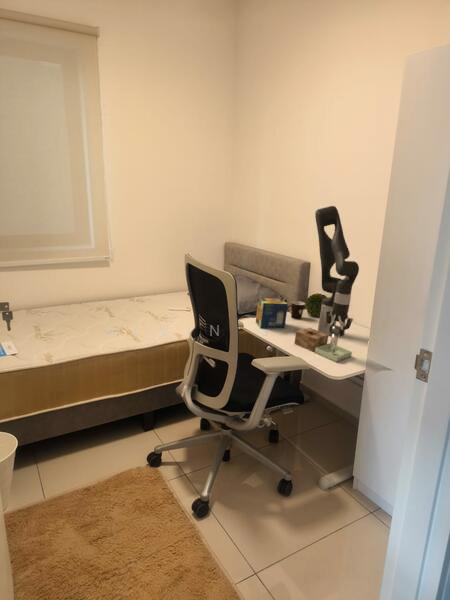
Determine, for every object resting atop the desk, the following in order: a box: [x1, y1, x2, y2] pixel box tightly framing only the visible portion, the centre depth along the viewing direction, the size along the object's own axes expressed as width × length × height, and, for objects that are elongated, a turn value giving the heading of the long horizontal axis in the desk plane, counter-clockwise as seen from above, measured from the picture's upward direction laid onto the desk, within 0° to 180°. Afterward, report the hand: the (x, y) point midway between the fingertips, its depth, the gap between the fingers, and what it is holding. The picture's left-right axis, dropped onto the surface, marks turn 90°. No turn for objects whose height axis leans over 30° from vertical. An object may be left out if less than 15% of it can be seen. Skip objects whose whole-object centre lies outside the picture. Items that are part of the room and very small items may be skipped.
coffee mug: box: [287, 300, 306, 320], centre depth 250 cm, size 12×9×10 cm
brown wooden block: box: [294, 327, 329, 353], centre depth 205 cm, size 12×12×7 cm
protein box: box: [255, 297, 289, 329], centre depth 230 cm, size 10×15×16 cm
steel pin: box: [329, 324, 341, 353], centre depth 193 cm, size 5×5×13 cm
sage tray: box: [314, 342, 353, 363], centre depth 196 cm, size 13×13×3 cm
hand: (336, 334), depth 193 cm, fingers closed on steel pin, 5 cm apart
